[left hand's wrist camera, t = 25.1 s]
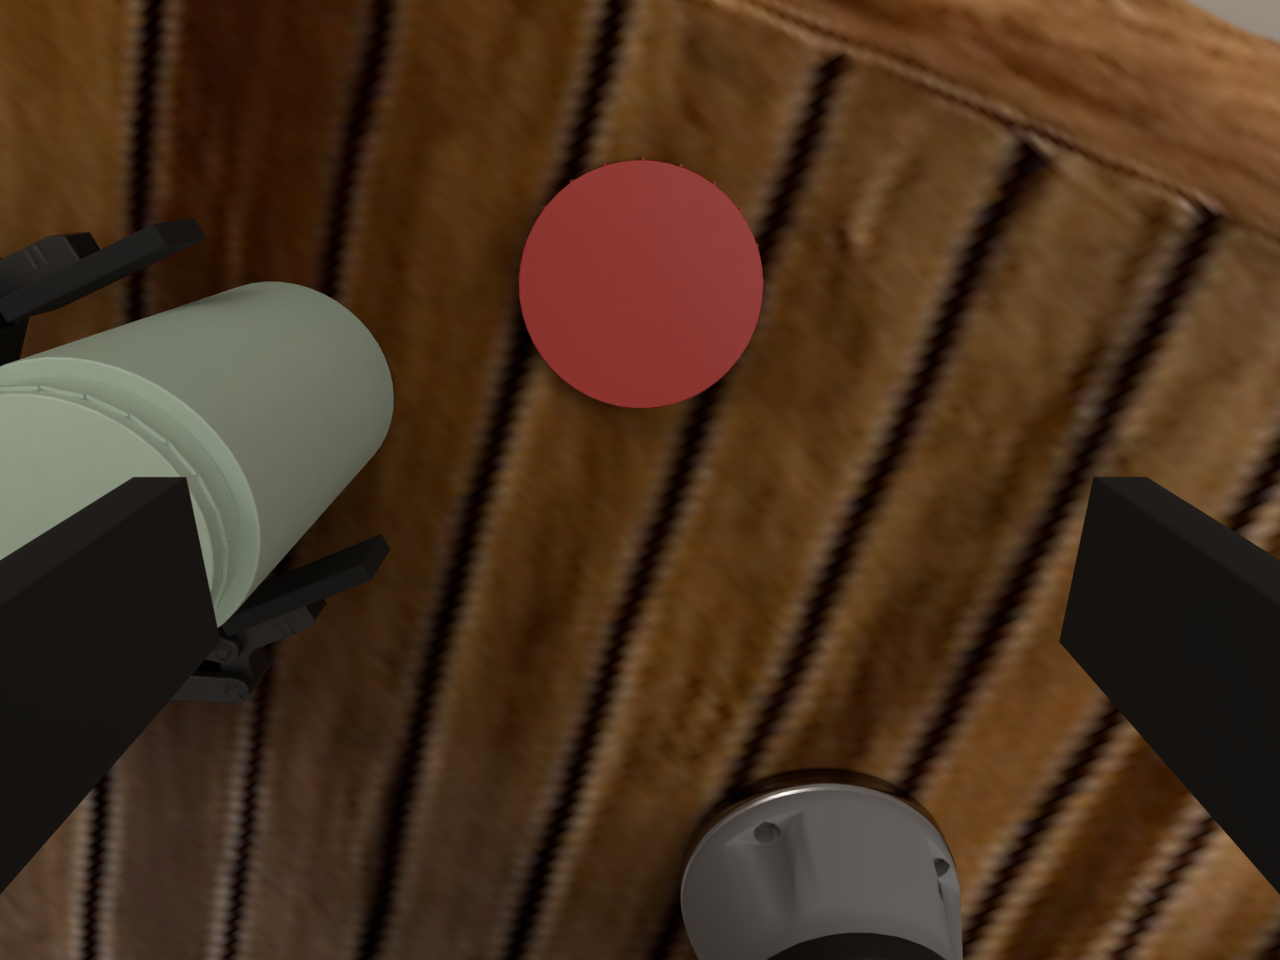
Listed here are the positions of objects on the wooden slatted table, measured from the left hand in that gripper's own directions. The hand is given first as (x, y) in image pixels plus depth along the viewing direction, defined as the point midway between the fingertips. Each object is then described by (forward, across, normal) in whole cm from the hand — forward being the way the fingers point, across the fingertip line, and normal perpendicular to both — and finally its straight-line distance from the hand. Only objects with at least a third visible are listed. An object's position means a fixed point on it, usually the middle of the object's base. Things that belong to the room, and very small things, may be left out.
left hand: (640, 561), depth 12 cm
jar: (+25, +16, +4) cm, 30 cm away
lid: (+24, 0, -1) cm, 24 cm away
